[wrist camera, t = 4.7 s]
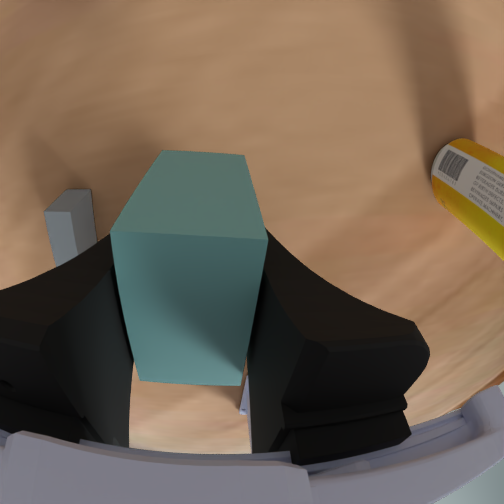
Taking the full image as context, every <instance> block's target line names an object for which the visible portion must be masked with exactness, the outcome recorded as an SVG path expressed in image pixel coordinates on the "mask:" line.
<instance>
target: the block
mask: <svg viewBox="0 0 504 504" xmlns="http://www.w3.org/2000/svg"><path fill="white" fill-rule="evenodd" d="M110 236H111V244H112V251H113V258H114V265H115V271H116V277H117V283H118V289H119V294H120V300H121V305H122V310H123V315H124V319H125V324H126V329H127V333H128V337H129V341H130V346H131V350H132V354H133V357H134V361H135V365H136V369H137V372H138V376H139V379H140V381H149V382H161V383H174V384H191V385H222V386H241V381H242V376H243V371H244V366H245V360H246V355H247V350H248V345H249V340H250V335H251V330H252V324H253V319H254V314H255V309H256V303H257V298H258V293H259V288H260V282H261V277H262V271H263V266H264V261H265V255H266V250H267V244H268V237H267V233H266V229H265V226H264V222H263V219H262V215H261V212H260V208H259V205H258V201H257V198H256V194H255V191H254V187H253V184H252V180H251V177H250V173H249V170H248V166H247V163H246V160H245V156H244V155H236V154H224V153H209V152H192V151H169V150H162V151H161V153H160V154H159V156H158V157H157V158H156V160H155V161H154V163H153V164H152V166H151V167H150V168H149V170H148V171H147V173H146V174H145V176H144V177H143V179H142V180H141V182H140V183H139V185H138V186H137V188H136V189H135V191H134V192H133V194H132V196H131V197H130V199H129V200H128V202H127V204H126V205H125V207H124V208H123V210H122V212H121V213H120V215H119V217H118V218H117V220H116V222H115V223H114V225H113V227H112V228H111V230H110Z"/></svg>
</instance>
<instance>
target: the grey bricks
mask: <svg viewBox="0 0 504 504" xmlns="http://www.w3.org/2000/svg"><path fill="white" fill-rule="evenodd" d="M44 215H45V220H46V225H47V230H48V235H49V239H50V243H51V248H52V252H53V256H54V260H55V263H56V267H58V266H60V265H62V264H63V263H65V262H67V261H69V260H71V259H72V258H74V257H76V256H77V255H79V254H81V253H82V252H84V251H85V250H87V249H88V248H90V247H91V246H93V245H94V244H96V243H97V236H96V230H95V222H94V214H93V206H92V196H91V189H67V190H65V191H64V192H63V193H62V194H61V195H60V196H59V197H58V198H57V199H56V200H55V201H54V202H53V203H52V204H51V205H50V206H49V207H48V208H47V209H46V210H45V211H44Z"/></svg>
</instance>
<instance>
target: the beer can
mask: <svg viewBox="0 0 504 504" xmlns="http://www.w3.org/2000/svg"><path fill="white" fill-rule="evenodd" d="M431 181H432V189H433V193H434V196H435V198H436V200H437V201H438V203H439V204H440V205H442V206H443V207H444V208H445V209H447V210H448V211H449V212H450V213H451V214H453V215H454V216H455V217H456V218H457V219H459V220H460V221H461V222H462V223H463V224H464V225H466V226H467V227H468V228H469V229H470V230H471V231H472V232H474V233H475V234H476V235H477V236H478V237H479V238H480V239H481V240H482V241H483V242H485V243H486V244H487V245H488V246H489V247H490V248H491V249H492V250H493V251H494V252H495V253H496V254H497V255H498V256H499V257H500V258H501V259H502V260H503V261H504V157H503V156H502V155H500V154H498V153H496V152H494V151H492V150H490V149H488V148H486V147H484V146H482V145H480V144H477V143H475V142H473V141H471V140H469V139H465V138H460V139H456V140H453V141H452V142H450V143H449V144H447V145H445V146H444V147H443V148H442V149H441V150H440V151H439V152H438V154H437V156H436V157H435V160H434V162H433V165H432V170H431Z"/></svg>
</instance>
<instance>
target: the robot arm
mask: <svg viewBox="0 0 504 504" xmlns="http://www.w3.org/2000/svg"><path fill="white" fill-rule="evenodd" d="M265 229H266V228H265ZM266 233H267V237H268V244H267V250H266V255H265V261H264V266H263V271H262V277H261V282H260V288H259V293H258V298H257V303H256V309H255V314H254V319H253V324H252V330H251V335H250V340H249V345H248V350H247V368H248V375H247V376H246V381H245V385H244V390H243V395H242V399H241V404H240V409H239V413H240V414H247V419H248V428H249V437H250V446H251V452H252V454H188V453H172V452H160V451H150V450H141V449H134V448H129V410H130V393H131V382H132V372H133V363H134V357H133V354H132V350H131V346H130V341H129V337H128V333H127V329H126V324H125V319H124V315H123V310H122V305H121V300H120V294H119V289H118V283H117V277H116V271H115V265H114V258H113V251H112V244H111V236H110V234H109V235H107V236H106V237H105V238H103V239H102V240H100V241H99V242H97V243H96V244H94V245H93V246H91V247H90V248H88V249H87V250H85V251H84V252H82V253H81V254H79V255H77V256H76V257H74V258H72V259H71V260H69V261H67V262H65V263H63V264H62V265H60V266H58V267H56V268H54V269H51V270H49V271H47V272H45V273H43V274H41V275H39V276H37V277H35V278H32V279H30V280H27V281H25V282H22V283H20V284H17V285H14V286H11V287H9V288H6V289H3V290H0V504H433V503H435V502H437V501H439V500H440V499H442V498H444V497H446V496H448V495H449V494H451V493H453V492H454V491H456V490H458V489H460V488H461V487H463V486H464V485H466V484H468V483H469V482H471V481H472V480H474V479H475V478H477V477H478V476H480V475H481V474H483V473H484V472H485V471H487V470H488V469H490V468H491V467H493V466H494V465H495V464H497V463H498V462H499V461H501V460H502V459H503V458H504V396H503V394H502V392H501V390H500V388H499V387H498V385H494V386H492V387H490V388H487V389H485V390H483V391H480V392H479V393H477V394H475V395H474V396H472V397H471V398H470V399H469V400H468V401H467V402H466V403H465V404H464V405H463V406H462V407H461V409H459V410H456V411H454V412H451V413H449V414H446V415H443V416H441V417H438V418H435V419H432V420H429V421H426V422H423V423H420V424H417V425H414V426H410V427H409V425H408V423H407V420H406V418H405V415H404V413H403V410H405V409H406V408H407V402H406V399H405V397H404V394H405V393H406V391H407V390H408V389H409V388H410V387H411V386H412V384H413V383H414V382H415V381H416V380H417V378H418V377H419V376H420V375H421V373H422V372H423V370H424V369H425V367H426V365H427V363H428V360H429V357H430V350H429V347H428V345H427V343H426V342H425V340H424V338H423V336H422V335H421V333H420V331H419V330H418V328H417V326H416V325H415V323H414V322H413V321H410V320H408V319H405V318H402V317H399V316H397V315H394V314H391V313H388V312H386V311H383V310H381V309H378V308H376V307H374V306H372V305H369V304H367V303H365V302H363V301H361V300H359V299H357V298H355V297H353V296H351V295H349V294H347V293H346V292H344V291H342V290H341V289H339V288H337V287H335V286H334V285H332V284H330V283H329V282H327V281H326V280H324V279H323V278H321V277H320V276H319V275H317V274H316V273H314V272H313V271H312V270H310V269H309V268H308V267H306V266H305V265H304V264H303V263H301V262H300V261H299V260H298V259H297V258H296V257H294V256H293V255H292V254H291V253H290V252H289V251H288V250H287V249H286V248H285V247H283V246H282V245H281V244H280V243H279V242H278V241H277V240H276V239H275V238H274V236H273V235H272V234H271V233H270V232H269V231H268V230H267V229H266Z"/></svg>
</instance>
